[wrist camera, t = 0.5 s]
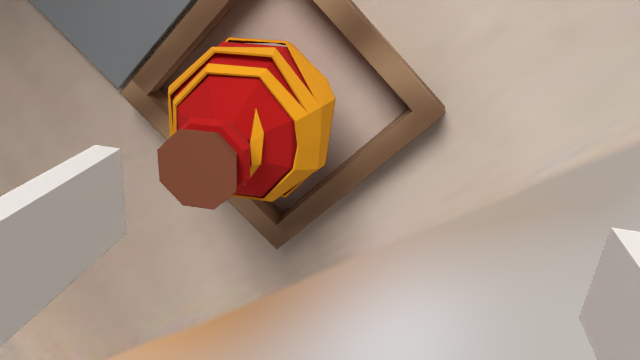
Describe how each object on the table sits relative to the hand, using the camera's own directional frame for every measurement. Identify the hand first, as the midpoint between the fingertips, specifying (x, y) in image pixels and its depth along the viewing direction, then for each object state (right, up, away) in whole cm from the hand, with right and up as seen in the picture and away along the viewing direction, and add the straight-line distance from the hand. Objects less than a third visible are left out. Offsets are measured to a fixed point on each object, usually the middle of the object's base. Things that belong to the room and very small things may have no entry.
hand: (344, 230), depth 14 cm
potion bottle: (-3, +8, +24) cm, 25 cm away
